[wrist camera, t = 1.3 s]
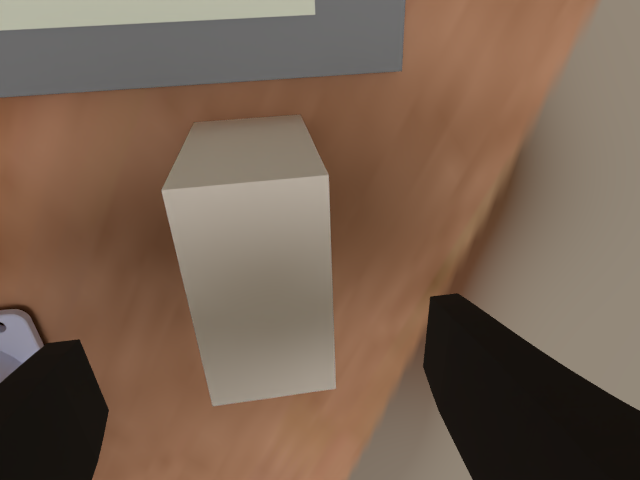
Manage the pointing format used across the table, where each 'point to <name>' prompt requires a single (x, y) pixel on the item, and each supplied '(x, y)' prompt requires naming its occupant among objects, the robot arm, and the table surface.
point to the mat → (191, 42)
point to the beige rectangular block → (255, 256)
